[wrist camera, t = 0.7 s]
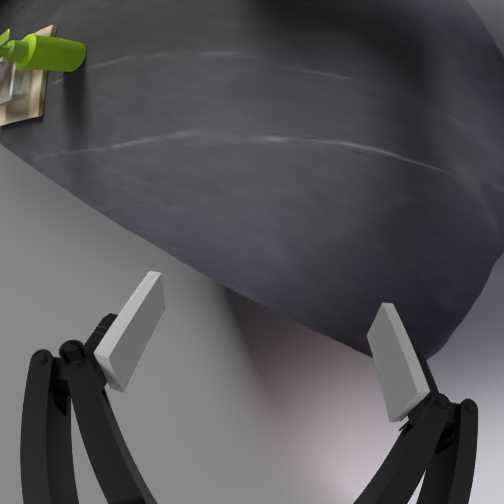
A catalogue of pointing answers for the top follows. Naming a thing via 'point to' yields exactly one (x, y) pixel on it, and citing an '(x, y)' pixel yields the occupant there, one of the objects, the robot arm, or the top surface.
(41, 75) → the dispenser caddy
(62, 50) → the soap dispenser
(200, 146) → the top surface
